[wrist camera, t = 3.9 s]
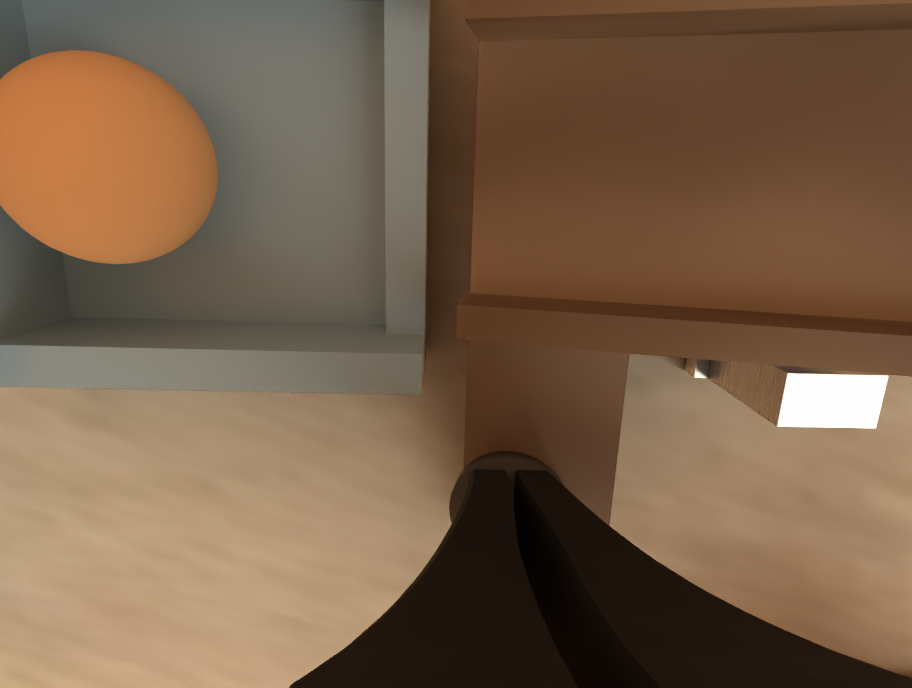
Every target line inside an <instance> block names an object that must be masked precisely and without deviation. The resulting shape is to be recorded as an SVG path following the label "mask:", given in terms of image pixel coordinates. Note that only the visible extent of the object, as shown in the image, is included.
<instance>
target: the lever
mask: <svg viewBox="0 0 912 688" xmlns="http://www.w3.org/2000/svg"><path fill="white" fill-rule="evenodd" d="M465 20H466V21H467V23H468V25H469V26H470V28H471V29H472V31H473V33H474V34H475V36H476V37H477V39H478V41H479V54H478V82H477V111H476V139H475V167H474V196H473V224H472V252H471V280H470V294H469V295H467V296H466V297H465V298H464V299H463V300H462V301H460V302H459V303H458V304H457V316H456V339H461V340H468V365H467V394H466V422H465V450H464V470H463V471H462V472H461V474H460V476H459V477H458V479H457V482H456V484H455V486H454V489H453V491H452V494H451V498H450V505H449V510H450V518H451V522H452V523H453V521H454V519H455V517H456V515H457V512H458V510H459V508H460V506H461V503H462V501H463V498H464V495H465V492H466V489H467V485H468V474H469V473H470V472H471V471H473V470H474V469H490V470H505V472H506V473H507V475H508V477H509V479H510V482H511V486H512V495H513V504H514V491H515V475H516V470H536V471H541V470H547V471H548V472H549V473H550V474H551V475H553V476H554V477H555V478H556V479H557V480H558V481H559V482H560V483H561V484H562V485H563V486H565V487H566V488H567V489H568V490H569V491H570V492H571V493H572V494H573V495H574V496H575V497H576V498H578V499H579V500H580V501H581V502H582V503H583V504H584V505H585V506H586V507H588V508H589V509H590V510H591V511H592V512H593V513H595V514H596V515H597V516H598V517H599V518H600V519H602V520H603V521H604V522H605V523H606V524H608V525H609V523H610V515H611V506H612V497H613V489H614V480H615V471H616V463H617V454H618V445H619V437H620V428H621V420H622V411H623V402H624V394H625V385H626V376H627V368H628V359H629V353H633V354H645V355H657V356H670V357H682V358H694V359H706V360H718V361H731V362H743V363H755V364H767V365H780V366H792V367H804V368H816V369H829V370H841V371H853V372H865V373H878V374H890V375H902V376H912V0H466V6H465Z"/></svg>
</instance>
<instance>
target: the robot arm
mask: <svg viewBox="0 0 912 688" xmlns="http://www.w3.org/2000/svg"><path fill="white" fill-rule="evenodd" d="M289 688H912V679H910V678H907V677H904V676H902V675H899V674H896V673H893V672H890V671H888V670H885V669H882V668H879V667H877V666H874V665H871V664H868V663H865V662H863V661H860V660H857V659H854V658H851V657H849V656H846V655H843V654H840V653H838V652H835V651H832V650H830V649H827V648H825V647H823V646H820V645H818V644H816V643H813V642H811V641H809V640H806V639H804V638H802V637H799V636H797V635H795V634H792V633H790V632H788V631H785V630H783V629H781V628H778V627H776V626H774V625H772V624H770V623H768V622H765V621H763V620H761V619H759V618H757V617H755V616H753V615H751V614H749V613H747V612H745V611H743V610H741V609H739V608H737V607H735V606H733V605H731V604H729V603H727V602H725V601H724V600H722V599H720V598H718V597H716V596H714V595H712V594H710V593H708V592H707V591H705V590H703V589H701V588H700V587H698V586H696V585H694V584H693V583H691V582H689V581H687V580H686V579H684V578H683V577H681V576H680V575H678V574H676V573H675V572H673V571H672V570H670V569H668V568H667V567H665V566H664V565H662V564H661V563H659V562H657V561H656V560H654V559H653V558H652V557H650V556H649V555H647V554H646V553H644V552H643V551H641V550H640V549H639V548H637V547H636V546H635V545H633V544H632V543H631V542H629V541H628V540H627V539H626V538H624V537H623V536H622V535H620V534H619V533H618V532H616V531H615V530H614V529H613V528H611V527H610V526H609V525H608V524H606V523H605V522H604V521H603V520H602V519H600V518H599V517H598V516H597V515H596V514H595V513H593V512H592V511H591V510H590V509H589V508H588V507H586V506H585V505H584V504H583V503H582V502H581V501H580V500H579V499H578V498H576V497H575V496H574V495H573V494H572V493H571V492H570V491H569V490H568V489H567V488H566V487H565V486H563V485H562V484H561V483H560V482H559V481H558V480H557V479H556V478H555V477H554V476H553V475H551V474H550V473H549V472H548V471H547V470H541V471H536V470H516V475H515V491H514V504H513V495H512V486H511V482H510V479H509V477H508V475H507V473H506V472H505V470H490V469H474V470H473V471H471V472H470V473H469V474H468V485H467V489H466V492H465V495H464V498H463V501H462V503H461V506H460V508H459V510H458V512H457V515H456V517H455V519H454V521H453V523H452V525H451V527H450V529H449V530H448V532H447V534H446V535H445V537H444V539H443V541H442V542H441V544H440V546H439V547H438V549H437V551H436V552H435V554H434V555H433V557H432V558H431V559H430V561H429V562H428V564H427V565H426V566H425V568H424V569H423V570H422V572H421V573H420V574H419V576H418V577H417V578H416V579H415V581H414V582H413V583H412V584H411V585H410V586H409V587H408V589H407V590H406V591H405V592H404V593H403V594H402V595H401V597H400V598H399V599H398V600H397V601H396V602H395V603H394V604H393V605H392V606H391V607H390V608H389V609H388V610H387V611H386V612H385V613H384V614H383V615H382V616H381V617H380V618H379V619H378V620H377V621H375V622H374V623H373V624H372V625H371V626H370V627H369V628H368V629H366V630H365V631H364V632H363V633H362V634H361V635H360V636H359V637H357V638H356V639H355V640H354V641H353V642H352V643H351V644H349V645H348V646H347V647H346V648H344V649H343V650H342V651H340V652H339V653H337V654H336V655H334V656H333V657H332V658H330V659H329V660H327V661H326V662H324V663H323V664H321V665H320V666H318V667H317V668H316V669H314V670H313V671H311V672H310V673H308V674H307V675H305V676H304V677H302V678H300V679H299V680H297V681H296V682H294V683H293V684H292V685H291V686H290V687H289Z"/></svg>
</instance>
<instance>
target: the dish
mask: <svg viewBox="0 0 912 688" xmlns="http://www.w3.org/2000/svg"><path fill="white" fill-rule="evenodd" d="M430 24H431V0H0V79H1V78H2V77H3V76H4V75H5V74H7V73H8V72H9V71H10V70H12V69H13V68H15V67H16V66H18V65H20V64H21V63H23V62H25V61H27V60H29V59H32V58H35V57H38V56H41V55H44V54H47V53H53V52H60V51H68V50H80V51H96V52H100V53H105V54H109V55H114V56H118V57H121V58H123V59H126V60H128V61H131V62H133V63H136V64H138V65H141V66H142V67H144V68H146V69H148V70H149V71H151V72H153V73H155V74H156V75H158V76H160V77H161V78H162V79H164V80H165V81H166V82H168V83H169V84H170V85H171V86H172V87H174V88H175V89H176V90H177V91H178V92H179V93H180V94H181V95H182V96H183V97H184V98H185V99H186V100H187V101H188V103H189V104H190V105H191V106H192V107H193V109H194V110H195V111H196V113H197V114H198V116H199V117H200V119H201V120H202V122H203V124H204V125H205V128H206V130H207V132H208V134H209V136H210V139H211V142H212V144H213V147H214V151H215V155H216V160H217V168H218V182H217V190H216V195H215V199H214V202H213V205H212V208H211V211H210V213H209V215H208V217H207V219H206V220H205V221H204V223H203V224H202V226H201V227H200V228H199V230H198V231H197V232H196V233H195V234H194V235H193V236H192V237H191V238H190V239H189V240H188V241H186V242H185V243H184V244H182V245H181V246H180V247H178V248H177V249H175V250H173V251H171V252H169V253H167V254H165V255H163V256H160V257H157V258H154V259H151V260H147V261H143V262H137V263H128V264H108V263H99V262H92V261H87V260H84V259H80V258H76V257H73V256H70V255H67V254H65V253H63V252H60V251H58V250H56V249H54V248H51V247H49V246H48V245H46V244H44V243H43V242H41V241H39V240H38V239H36V238H35V237H33V236H32V235H30V234H29V233H28V232H26V231H25V230H24V229H22V228H21V227H20V226H19V225H18V224H17V223H16V222H15V221H14V220H13V219H12V218H11V217H10V216H9V215H8V214H7V213H6V212H5V210H4V209H3V208H2V207H1V205H0V387H41V388H91V389H141V390H191V391H241V392H291V393H341V394H391V395H421V391H422V383H423V375H424V367H425V359H426V303H427V233H428V163H429V94H430Z"/></svg>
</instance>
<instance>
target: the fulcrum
mask: <svg viewBox="0 0 912 688" xmlns="http://www.w3.org/2000/svg"><path fill="white" fill-rule="evenodd" d="M685 371H686V372H687V373H688V374H690V375H691V376H693V377H694V378H708V379H709V380H711V381H712V382H714V383H715V384H717V385H718V386H720V387H721V388H722V389H724V390H725V391H727V392H728V393H730V394H731V395H733V396H734V397H735V398H737V399H738V400H740V401H741V402H743V403H744V404H745V405H747V406H748V407H750V408H751V409H753V410H754V411H756V412H757V413H758V414H760V415H761V416H763V417H764V418H766V419H767V420H768V421H770V422H771V423H773V424H774V425H776V426H777V427H828V428H876V425H877V421H878V417H879V413H880V409H881V405H882V401H883V397H884V393H885V389H886V385H887V381H888V377H889V375H886V374H878V373H865V372H853V371H841V370H829V369H816V368H804V367H792V366H780V365H767V364H755V363H743V362H731V361H718V360H706V359H694V358H687V360H686V367H685Z"/></svg>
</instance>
